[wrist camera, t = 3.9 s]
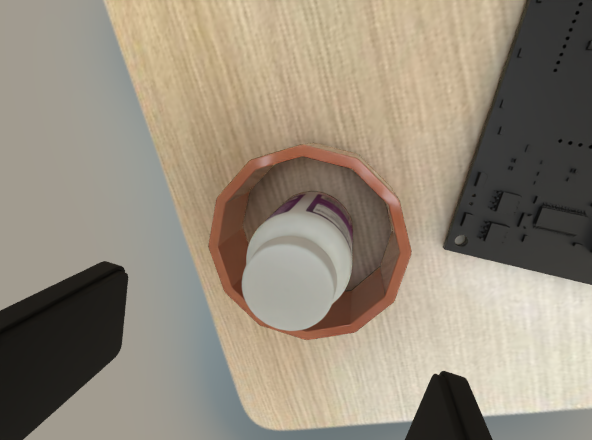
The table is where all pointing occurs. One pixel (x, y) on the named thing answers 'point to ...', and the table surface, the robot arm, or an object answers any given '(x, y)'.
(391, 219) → the terracotta faceted ring
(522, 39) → the circuit board
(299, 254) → the pill bottle
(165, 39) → the table surface
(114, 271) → the robot arm
